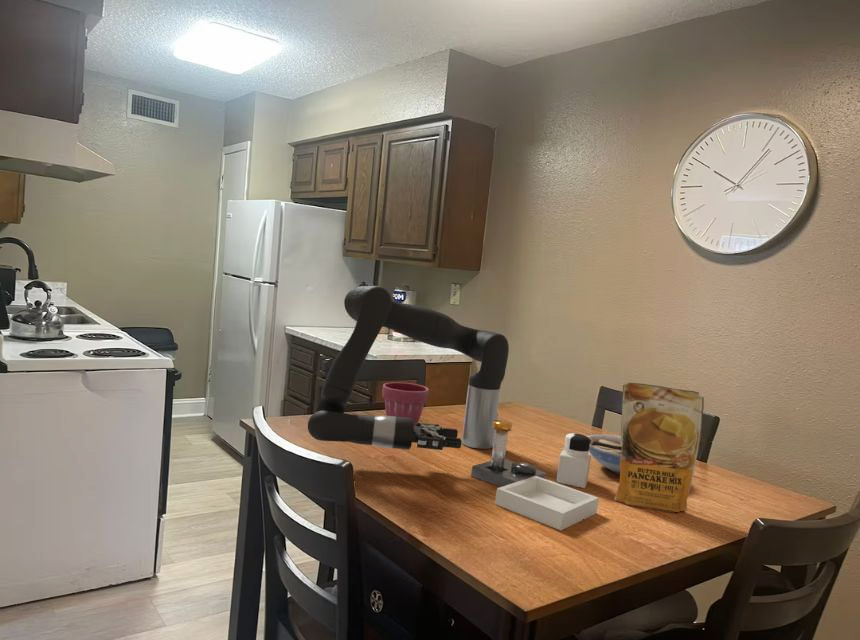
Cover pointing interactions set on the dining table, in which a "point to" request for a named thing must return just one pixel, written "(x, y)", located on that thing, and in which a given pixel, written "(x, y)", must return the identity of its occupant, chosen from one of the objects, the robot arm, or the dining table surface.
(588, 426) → the dining table surface
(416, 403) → the plant pot
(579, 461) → the medicine bottle
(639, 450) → the pancake mix bag
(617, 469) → the ramen bowl
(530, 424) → the dining table surface
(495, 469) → the pin
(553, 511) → the tray
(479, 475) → the grey flat square block
